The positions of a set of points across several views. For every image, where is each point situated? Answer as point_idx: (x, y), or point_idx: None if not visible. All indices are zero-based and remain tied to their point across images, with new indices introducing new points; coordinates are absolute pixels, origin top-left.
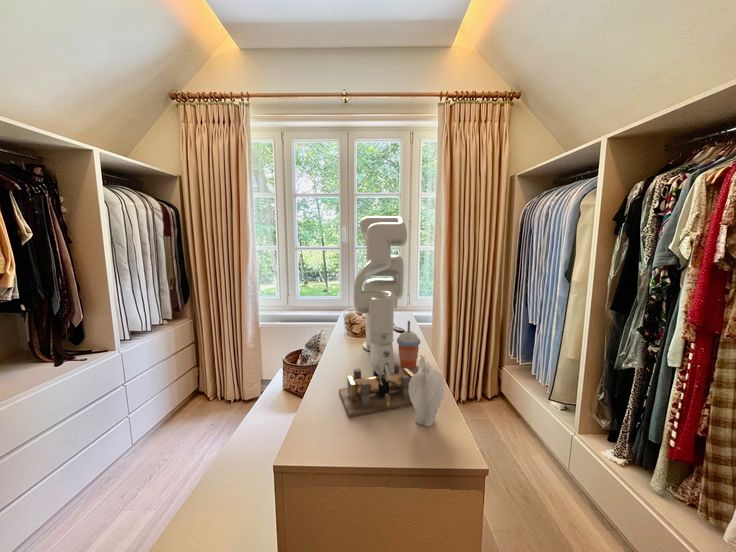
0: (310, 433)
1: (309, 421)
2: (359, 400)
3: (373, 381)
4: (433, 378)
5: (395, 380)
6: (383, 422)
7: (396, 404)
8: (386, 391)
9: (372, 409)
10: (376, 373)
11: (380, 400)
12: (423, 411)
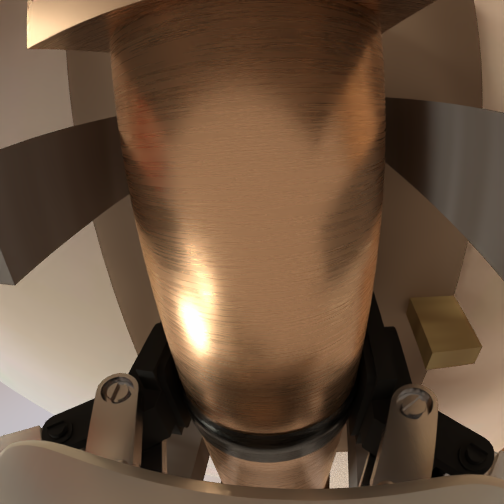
0: None
1: (342, 486)
2: None
3: (311, 473)
4: None
5: (361, 290)
6: (498, 334)
7: (458, 245)
8: (397, 351)
9: (421, 383)
10: (162, 435)
11: None
12: None
